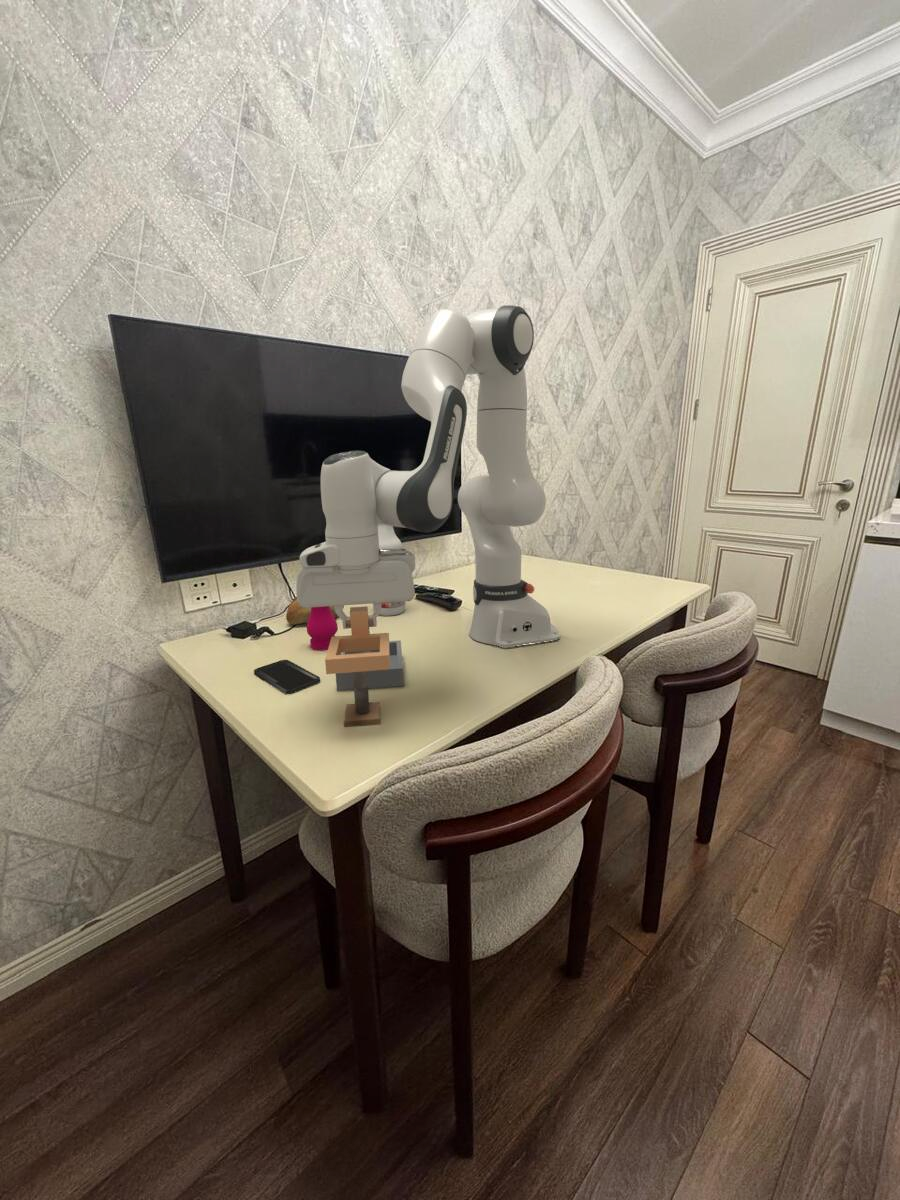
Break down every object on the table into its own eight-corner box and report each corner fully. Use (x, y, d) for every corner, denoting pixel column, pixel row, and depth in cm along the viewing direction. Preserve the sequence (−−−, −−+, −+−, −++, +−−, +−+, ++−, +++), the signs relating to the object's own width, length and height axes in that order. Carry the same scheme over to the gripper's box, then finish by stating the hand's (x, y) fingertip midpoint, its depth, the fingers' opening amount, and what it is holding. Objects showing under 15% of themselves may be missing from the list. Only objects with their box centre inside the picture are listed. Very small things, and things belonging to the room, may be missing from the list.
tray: (401, 655, 109) (400, 640, 108) (403, 685, 95) (402, 668, 94) (343, 659, 107) (342, 644, 106) (337, 690, 93) (335, 672, 92)
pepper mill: (331, 652, 112) (323, 568, 106) (303, 650, 113) (293, 568, 107) (344, 640, 118) (337, 562, 113) (317, 639, 120) (309, 561, 114)
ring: (389, 641, 88) (387, 605, 86) (390, 669, 77) (387, 628, 75) (334, 644, 87) (330, 608, 85) (326, 674, 75) (322, 633, 73)
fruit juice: (403, 616, 136) (398, 517, 128) (370, 616, 136) (363, 518, 128) (407, 606, 145) (403, 513, 137) (376, 606, 145) (370, 513, 137)
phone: (285, 658, 107) (322, 678, 97) (286, 663, 107) (322, 683, 97) (251, 670, 101) (286, 692, 91) (252, 674, 102) (287, 697, 92)
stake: (380, 706, 87) (376, 645, 83) (380, 723, 81) (375, 659, 78) (347, 708, 86) (341, 647, 83) (344, 726, 81) (338, 661, 77)
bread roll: (281, 621, 133) (278, 594, 131) (332, 611, 142) (330, 585, 139) (292, 631, 126) (289, 602, 124) (345, 619, 134) (343, 592, 132)
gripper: (413, 544, 85) (417, 617, 90) (296, 550, 83) (305, 624, 87) (415, 551, 79) (419, 628, 84) (289, 557, 77) (299, 637, 81)
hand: (360, 626), depth 85 cm, fingers closed on ring, 3 cm apart
